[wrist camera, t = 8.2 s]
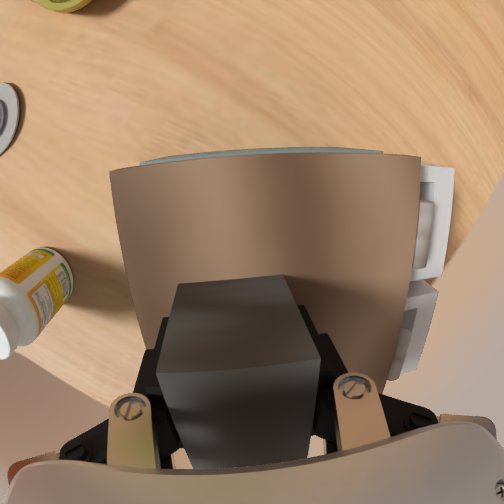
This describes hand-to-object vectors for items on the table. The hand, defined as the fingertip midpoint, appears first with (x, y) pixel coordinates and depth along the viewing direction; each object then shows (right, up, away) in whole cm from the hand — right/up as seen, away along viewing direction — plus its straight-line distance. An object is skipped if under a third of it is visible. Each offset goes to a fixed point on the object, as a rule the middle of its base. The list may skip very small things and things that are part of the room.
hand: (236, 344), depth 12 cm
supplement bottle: (-17, +2, +10) cm, 20 cm away
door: (+2, +1, +2) cm, 3 cm away
